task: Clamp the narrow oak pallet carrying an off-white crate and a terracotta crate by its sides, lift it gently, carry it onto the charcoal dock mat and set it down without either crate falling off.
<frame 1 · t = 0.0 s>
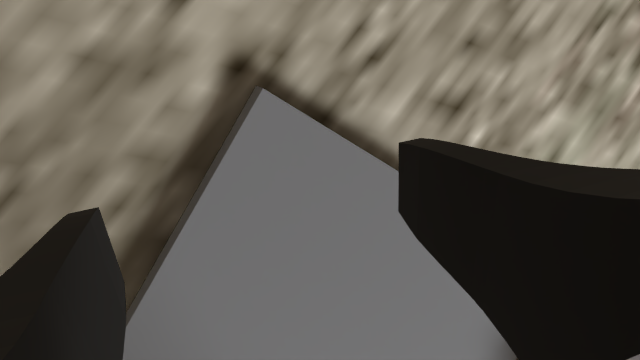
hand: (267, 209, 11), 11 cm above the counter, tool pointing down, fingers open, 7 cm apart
dock: (363, 299, 25), on the counter
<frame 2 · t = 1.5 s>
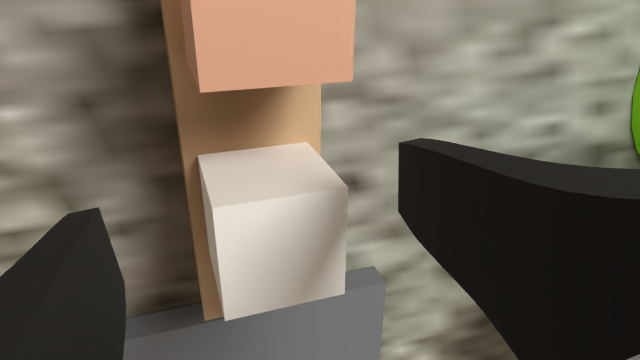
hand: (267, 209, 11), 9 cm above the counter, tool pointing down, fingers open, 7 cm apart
pallet: (233, 78, 19), on the counter, touching terracotta crate
white crate: (257, 197, 17), point 4 cm above the counter
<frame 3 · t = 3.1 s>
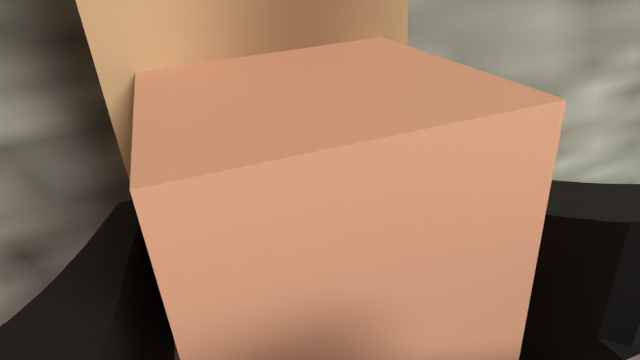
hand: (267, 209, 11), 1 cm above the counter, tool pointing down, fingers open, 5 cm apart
pallet: (251, 177, 13), on the counter, touching gripper, terracotta crate, white crate
terracotta crate: (281, 166, 8), point 4 cm above the counter, touching pallet
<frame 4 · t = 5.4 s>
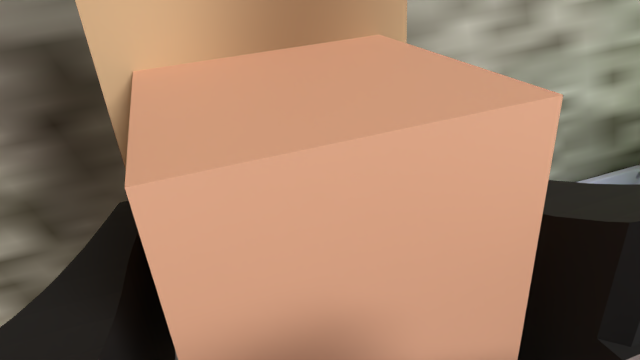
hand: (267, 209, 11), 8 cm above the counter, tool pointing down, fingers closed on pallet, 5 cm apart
pallet: (250, 174, 13), point 7 cm above the counter, touching gripper, terracotta crate, white crate
terracotta crate: (279, 165, 8), point 10 cm above the counter, touching pallet
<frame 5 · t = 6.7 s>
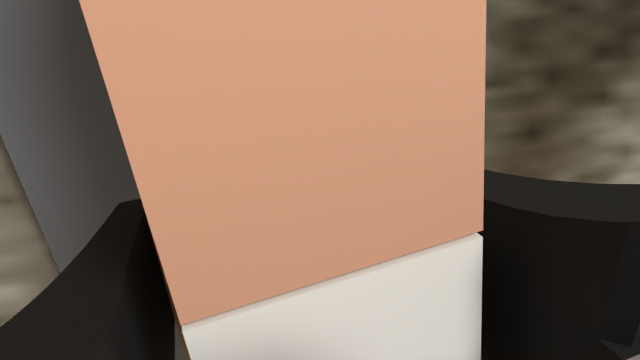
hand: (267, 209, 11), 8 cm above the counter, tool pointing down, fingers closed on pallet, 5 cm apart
pallet: (243, 155, 13), point 6 cm above the counter, tilted 5°, touching gripper, terracotta crate, white crate
white crate: (286, 259, 10), point 10 cm above the counter, tilted 5°, touching pallet
terracotta crate: (252, 70, 8), point 9 cm above the counter, tilted 5°, touching pallet
dock: (225, 145, 19), on the counter
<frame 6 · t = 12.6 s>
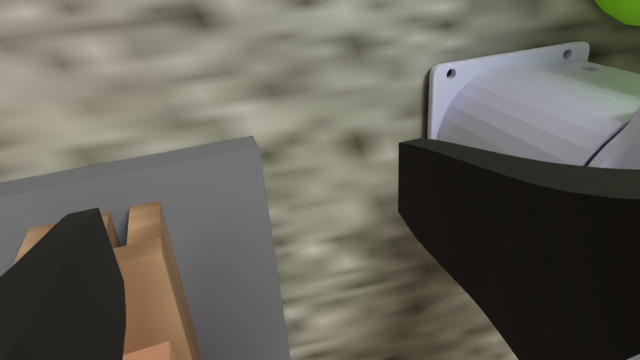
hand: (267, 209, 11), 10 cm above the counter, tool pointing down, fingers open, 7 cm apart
dock: (152, 352, 24), on the counter
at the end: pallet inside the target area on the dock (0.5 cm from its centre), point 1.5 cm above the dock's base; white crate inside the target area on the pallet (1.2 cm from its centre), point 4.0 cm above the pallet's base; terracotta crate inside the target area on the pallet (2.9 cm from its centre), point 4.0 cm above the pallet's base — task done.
